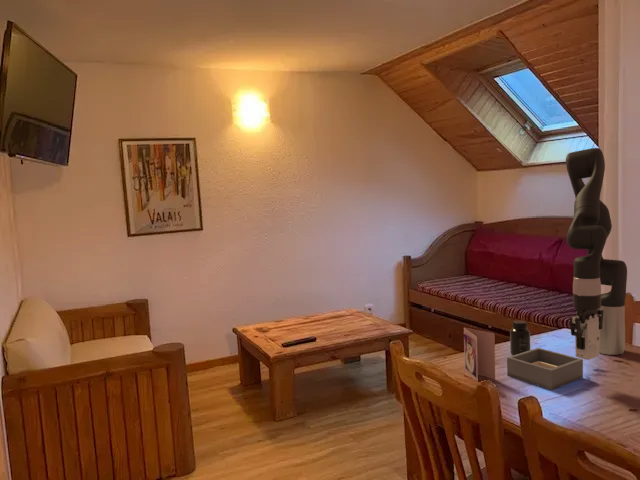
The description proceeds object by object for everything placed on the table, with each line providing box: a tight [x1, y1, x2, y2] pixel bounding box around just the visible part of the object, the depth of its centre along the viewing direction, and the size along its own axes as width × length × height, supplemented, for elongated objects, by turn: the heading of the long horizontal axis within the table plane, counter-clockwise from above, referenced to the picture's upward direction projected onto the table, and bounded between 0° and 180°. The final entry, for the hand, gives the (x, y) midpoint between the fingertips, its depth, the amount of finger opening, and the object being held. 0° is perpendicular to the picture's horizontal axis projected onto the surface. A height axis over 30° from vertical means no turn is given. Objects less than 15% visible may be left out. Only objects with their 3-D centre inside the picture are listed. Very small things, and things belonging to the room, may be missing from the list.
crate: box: [506, 347, 584, 391], centre depth 172 cm, size 16×16×6 cm
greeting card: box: [462, 327, 496, 382], centre depth 174 cm, size 11×7×15 cm, turn 5°
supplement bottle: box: [509, 319, 531, 356], centre depth 194 cm, size 7×7×12 cm
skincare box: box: [574, 317, 600, 361], centre depth 162 cm, size 6×4×12 cm
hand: (587, 346), depth 162 cm, fingers closed on skincare box, 6 cm apart
